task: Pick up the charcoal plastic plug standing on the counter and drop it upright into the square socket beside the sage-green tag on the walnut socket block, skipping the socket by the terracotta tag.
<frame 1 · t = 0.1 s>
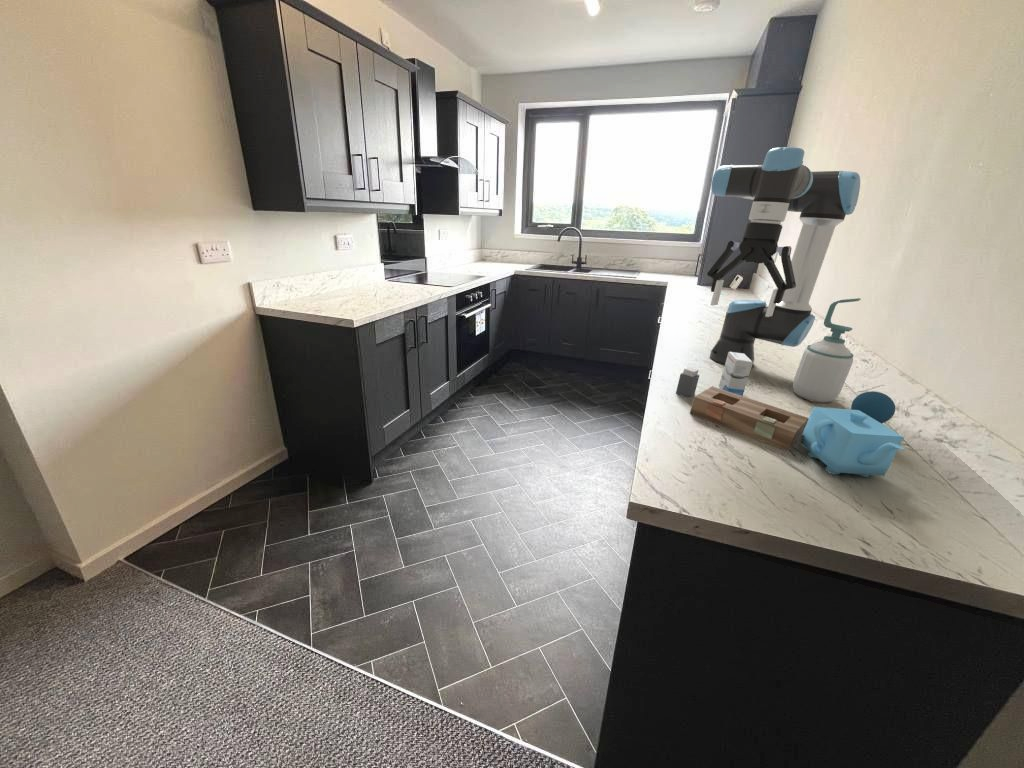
hand: (740, 310, 106), 28 cm above the worktop, fingers open, 13 cm apart
plug: (685, 393, 125), on the worktop
soap bottle: (811, 397, 129), on the worktop
teapot: (845, 472, 90), on the worktop
socket block: (743, 423, 108), on the worktop
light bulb: (860, 435, 107), on the worktop
ink box: (729, 392, 129), on the worktop
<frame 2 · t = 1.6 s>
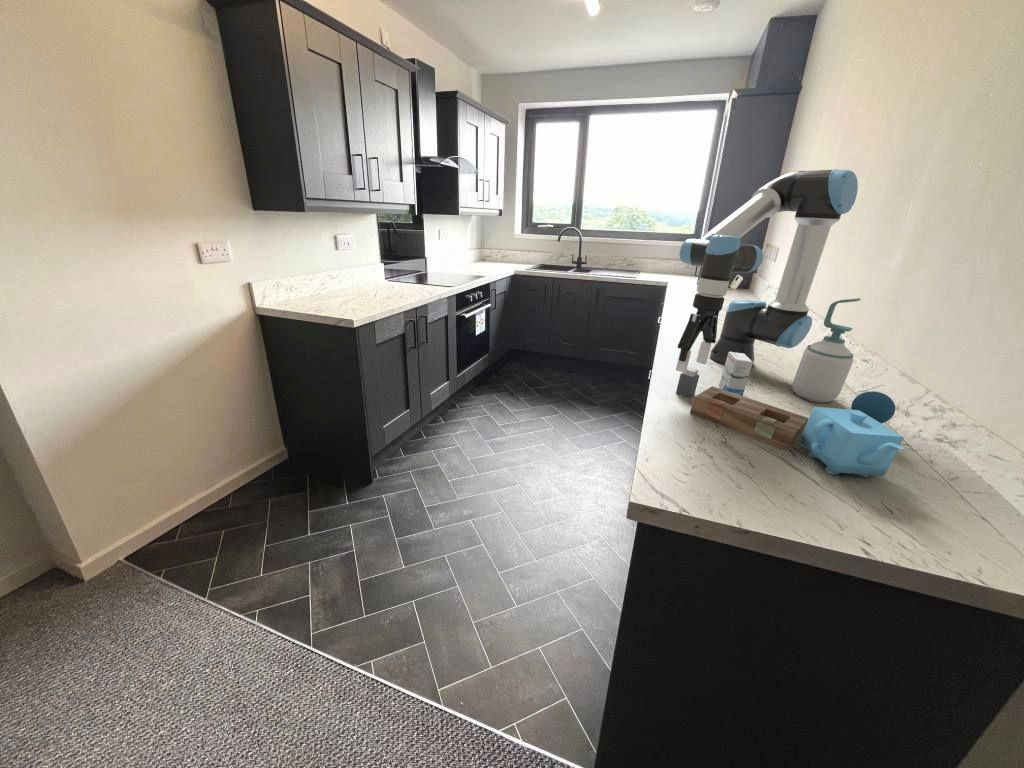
hand: (691, 367, 121), 9 cm above the worktop, fingers open, 13 cm apart
nothing on the worktop moved.
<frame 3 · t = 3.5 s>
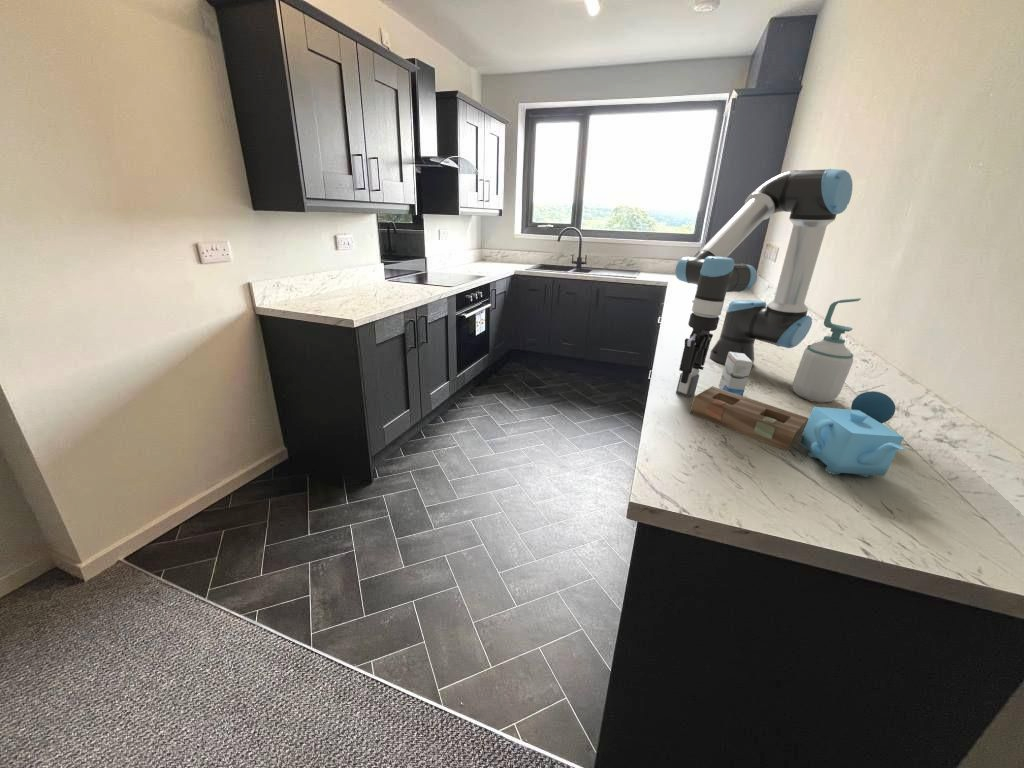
hand: (686, 390, 124), 1 cm above the worktop, fingers closed on plug, 4 cm apart
plug: (685, 393, 125), on the worktop, touching gripper
everything else where it was.
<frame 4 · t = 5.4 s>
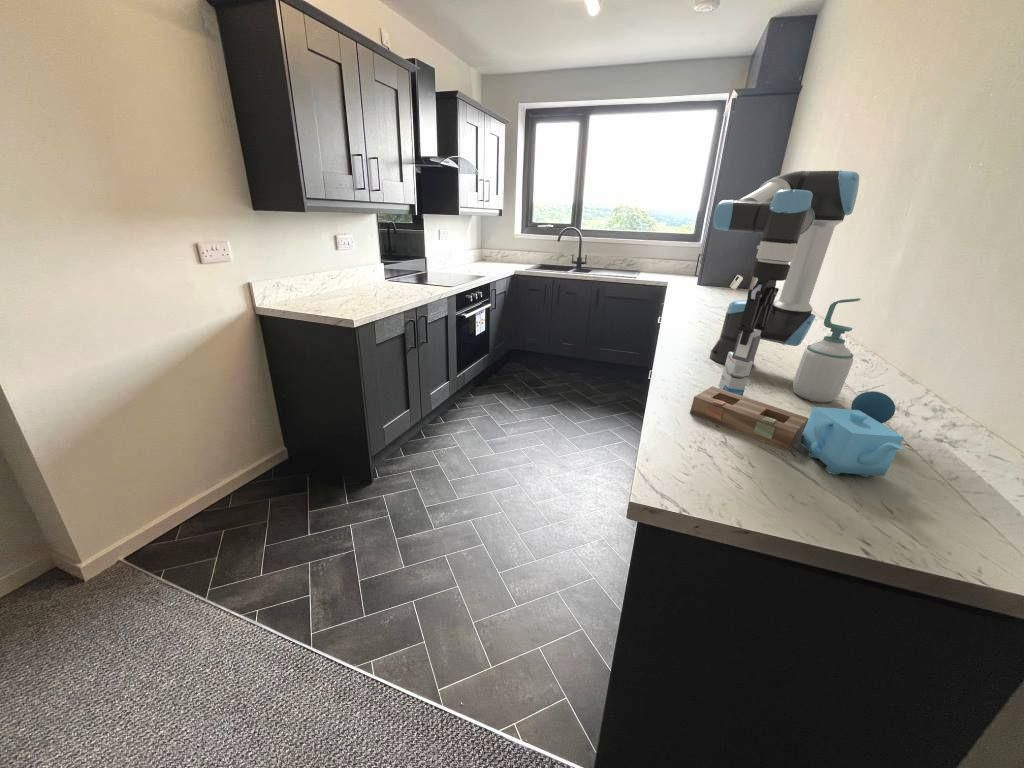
hand: (744, 354, 106), 17 cm above the worktop, fingers closed on plug, 4 cm apart
plug: (742, 359, 107), point 16 cm above the worktop, touching gripper
everything else where it was.
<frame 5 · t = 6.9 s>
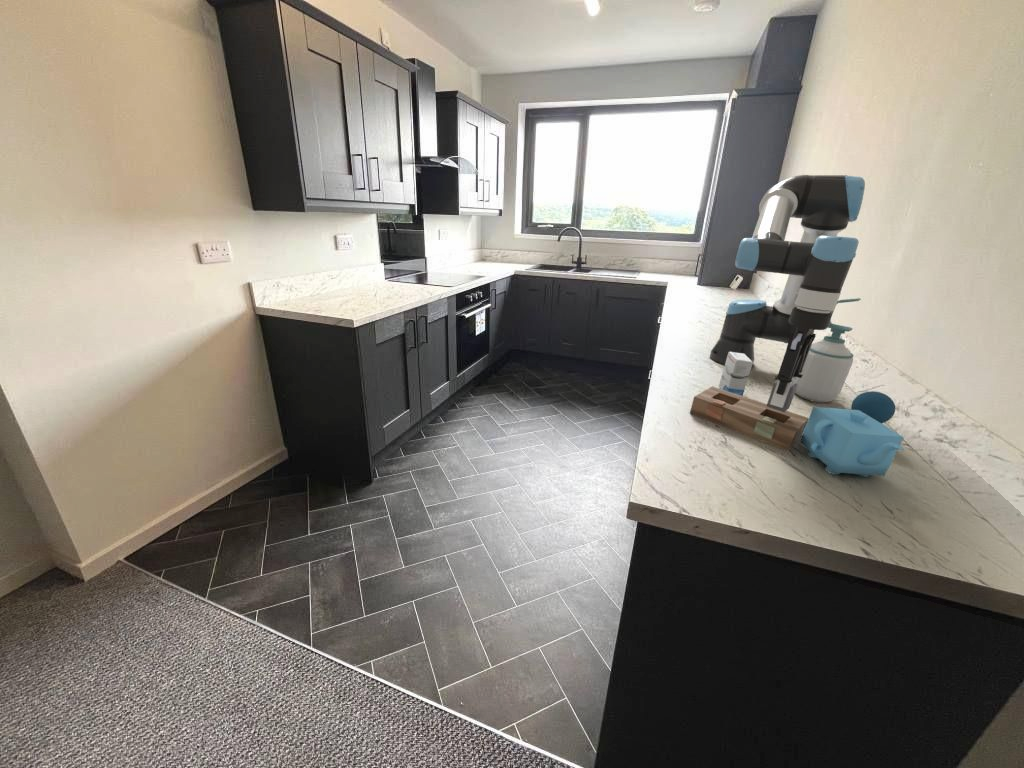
hand: (779, 402, 101), 9 cm above the worktop, fingers closed on plug, 4 cm apart
plug: (777, 407, 102), point 7 cm above the worktop, touching gripper
everything else where it was.
when the fingers open (7 cm above the worktop, at t = 7.8 s): plug drops 4 cm, resting on socket block.
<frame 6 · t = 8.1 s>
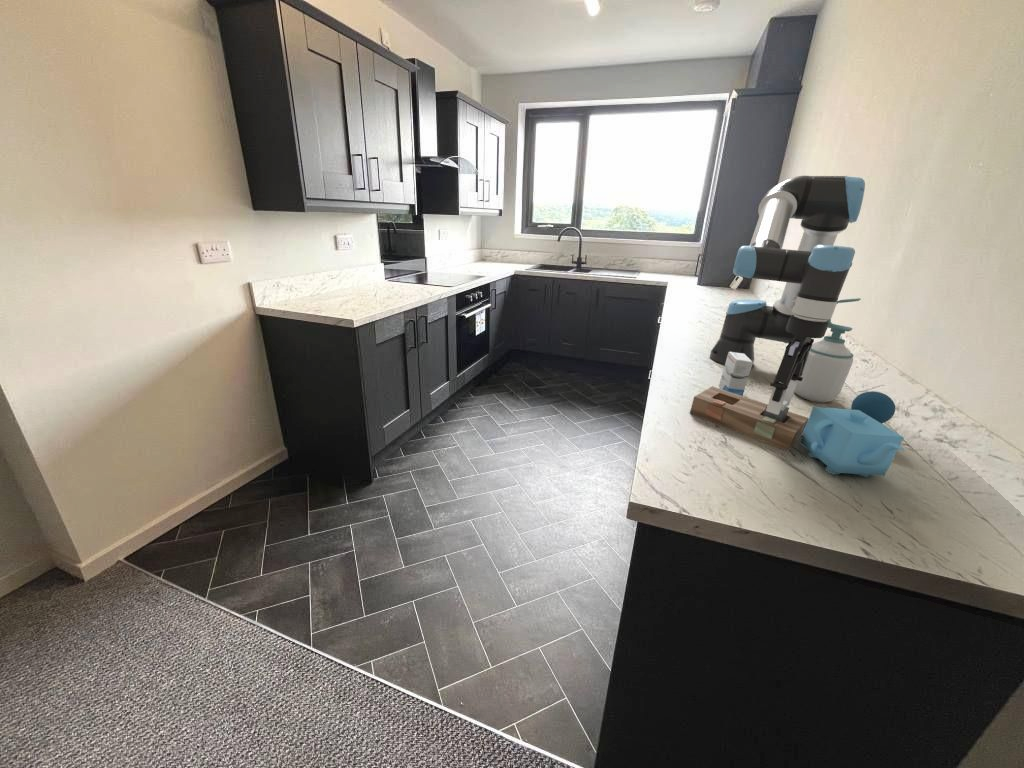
hand: (777, 407, 102), 7 cm above the worktop, fingers open, 8 cm apart
plug: (769, 429, 104), point 1 cm above the worktop, touching socket block
everything else where it was.
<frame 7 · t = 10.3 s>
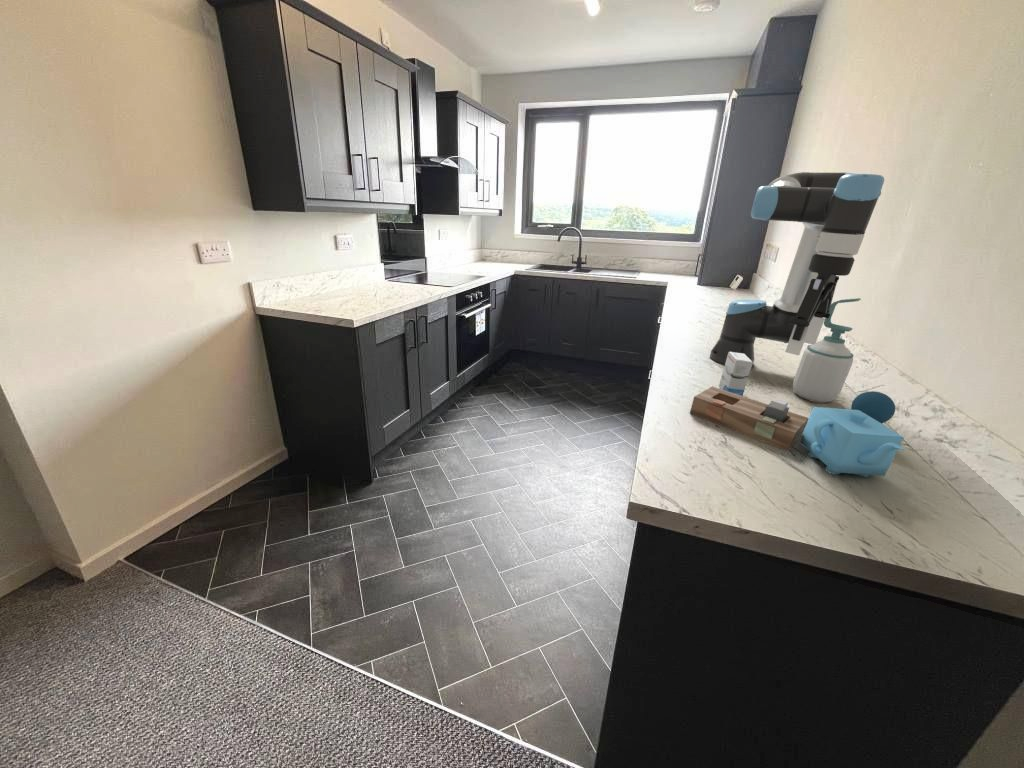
hand: (800, 348, 97), 22 cm above the worktop, fingers open, 13 cm apart
nothing on the worktop moved.
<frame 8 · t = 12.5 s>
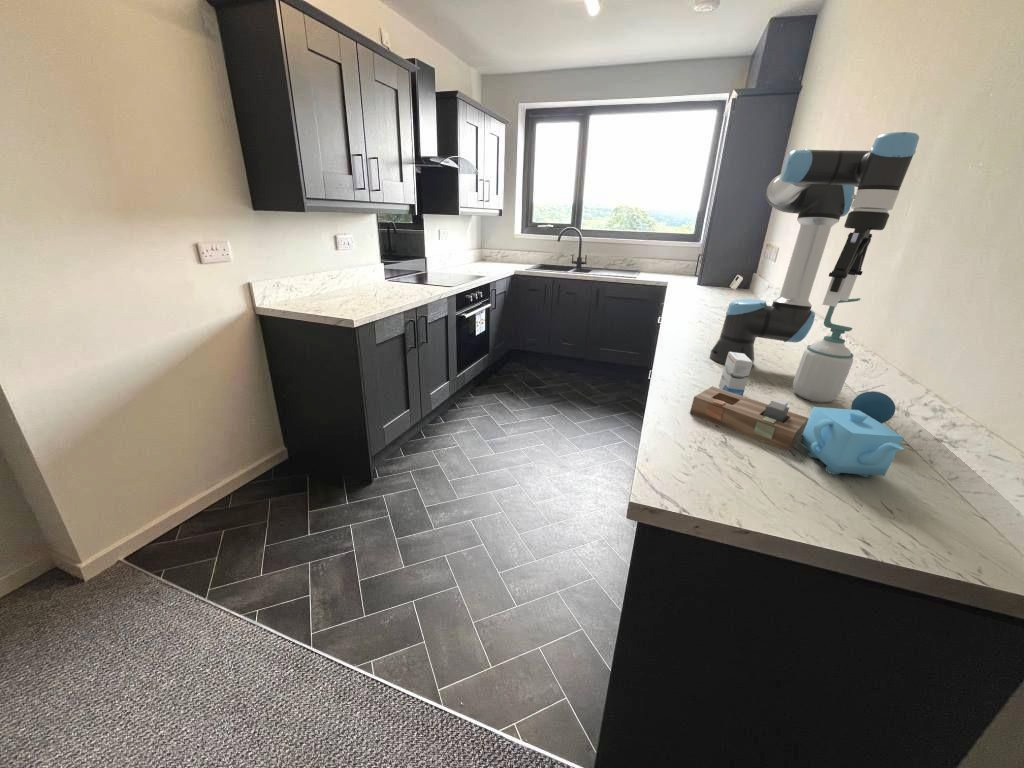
hand: (835, 302, 103), 32 cm above the worktop, fingers open, 13 cm apart
nothing on the worktop moved.
at the end: plug 0.0 cm from the target spot on the socket block, point 1.0 cm above the socket block's base; plug tilted 0°; the gripper is holding nothing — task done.
